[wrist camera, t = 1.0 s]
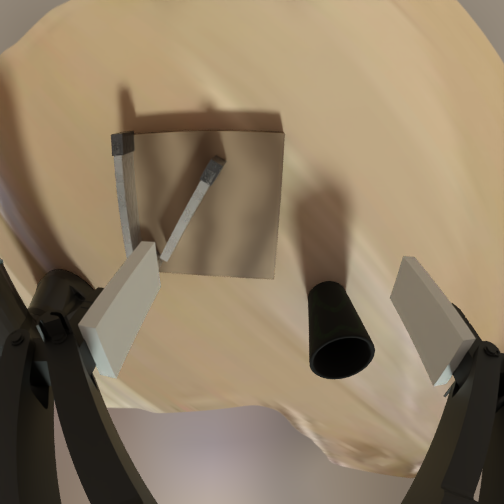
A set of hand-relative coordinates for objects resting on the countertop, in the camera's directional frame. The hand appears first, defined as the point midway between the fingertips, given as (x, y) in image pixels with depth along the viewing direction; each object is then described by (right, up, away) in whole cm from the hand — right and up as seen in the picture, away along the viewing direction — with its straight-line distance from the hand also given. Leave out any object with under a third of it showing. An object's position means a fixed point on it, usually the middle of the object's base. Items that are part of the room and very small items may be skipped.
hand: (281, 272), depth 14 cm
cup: (+9, -5, +26) cm, 28 cm away
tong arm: (-8, +6, +18) cm, 21 cm away
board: (-7, +7, +20) cm, 22 cm away
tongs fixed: (-15, +6, +19) cm, 25 cm away
